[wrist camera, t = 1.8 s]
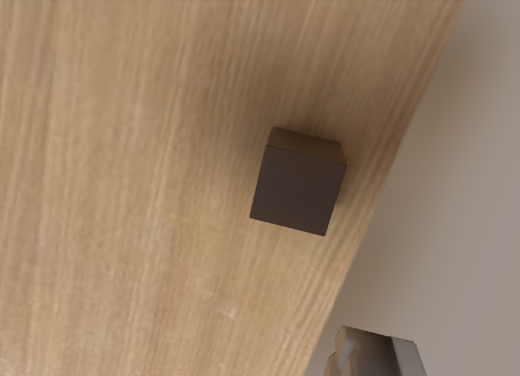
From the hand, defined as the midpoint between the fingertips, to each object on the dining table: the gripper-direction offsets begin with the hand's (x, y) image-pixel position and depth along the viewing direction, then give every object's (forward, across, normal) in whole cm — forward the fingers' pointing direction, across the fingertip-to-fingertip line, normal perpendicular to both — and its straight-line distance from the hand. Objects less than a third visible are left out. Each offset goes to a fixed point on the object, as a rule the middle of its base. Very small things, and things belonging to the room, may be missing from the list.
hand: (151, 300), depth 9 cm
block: (+16, -3, +2) cm, 17 cm away
